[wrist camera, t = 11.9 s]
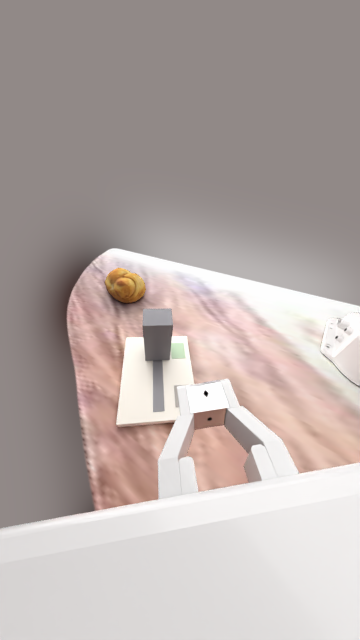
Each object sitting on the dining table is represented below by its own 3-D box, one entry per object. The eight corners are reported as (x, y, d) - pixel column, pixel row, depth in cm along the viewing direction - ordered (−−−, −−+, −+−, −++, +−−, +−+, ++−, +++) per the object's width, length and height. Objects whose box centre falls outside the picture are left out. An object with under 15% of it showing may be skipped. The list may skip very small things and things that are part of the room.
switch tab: (145, 345, 42) (143, 308, 34) (168, 344, 42) (171, 308, 34) (145, 360, 39) (142, 325, 31) (169, 359, 40) (172, 325, 32)
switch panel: (126, 341, 44) (126, 337, 43) (185, 339, 46) (186, 335, 45) (117, 427, 32) (116, 424, 31) (198, 420, 34) (199, 417, 33)
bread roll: (99, 288, 56) (92, 264, 51) (126, 277, 62) (123, 254, 56) (123, 311, 51) (119, 287, 45) (152, 297, 56) (151, 273, 50)
